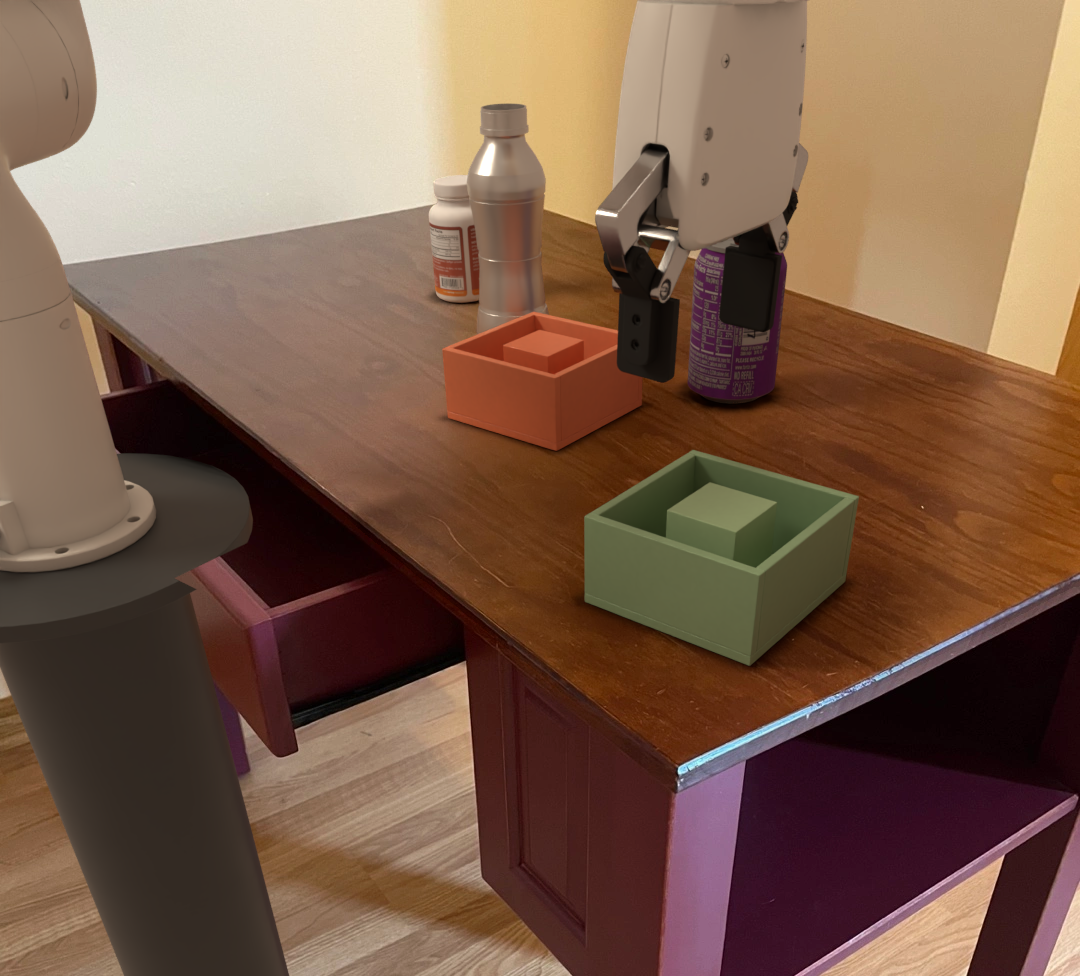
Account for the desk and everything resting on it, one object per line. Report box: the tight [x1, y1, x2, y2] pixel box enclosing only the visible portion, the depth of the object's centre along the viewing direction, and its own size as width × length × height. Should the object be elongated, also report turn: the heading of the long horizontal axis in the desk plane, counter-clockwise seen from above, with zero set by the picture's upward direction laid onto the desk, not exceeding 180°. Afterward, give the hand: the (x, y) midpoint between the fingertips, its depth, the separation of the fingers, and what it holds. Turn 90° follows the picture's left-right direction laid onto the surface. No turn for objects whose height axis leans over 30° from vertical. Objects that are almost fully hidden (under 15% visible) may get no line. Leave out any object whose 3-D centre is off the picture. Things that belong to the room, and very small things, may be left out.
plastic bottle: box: [467, 103, 550, 335], centre depth 92 cm, size 6×7×20 cm
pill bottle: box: [428, 174, 480, 304], centre depth 110 cm, size 6×6×11 cm
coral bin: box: [441, 312, 644, 452], centre depth 86 cm, size 11×11×6 cm
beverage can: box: [687, 238, 788, 405], centre depth 86 cm, size 7×7×12 cm
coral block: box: [503, 330, 584, 374], centre depth 86 cm, size 4×4×5 cm
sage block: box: [666, 482, 777, 568], centre depth 63 cm, size 4×4×5 cm
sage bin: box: [583, 449, 860, 667], centre depth 63 cm, size 11×11×6 cm
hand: (697, 349), depth 58 cm, fingers open, 9 cm apart
